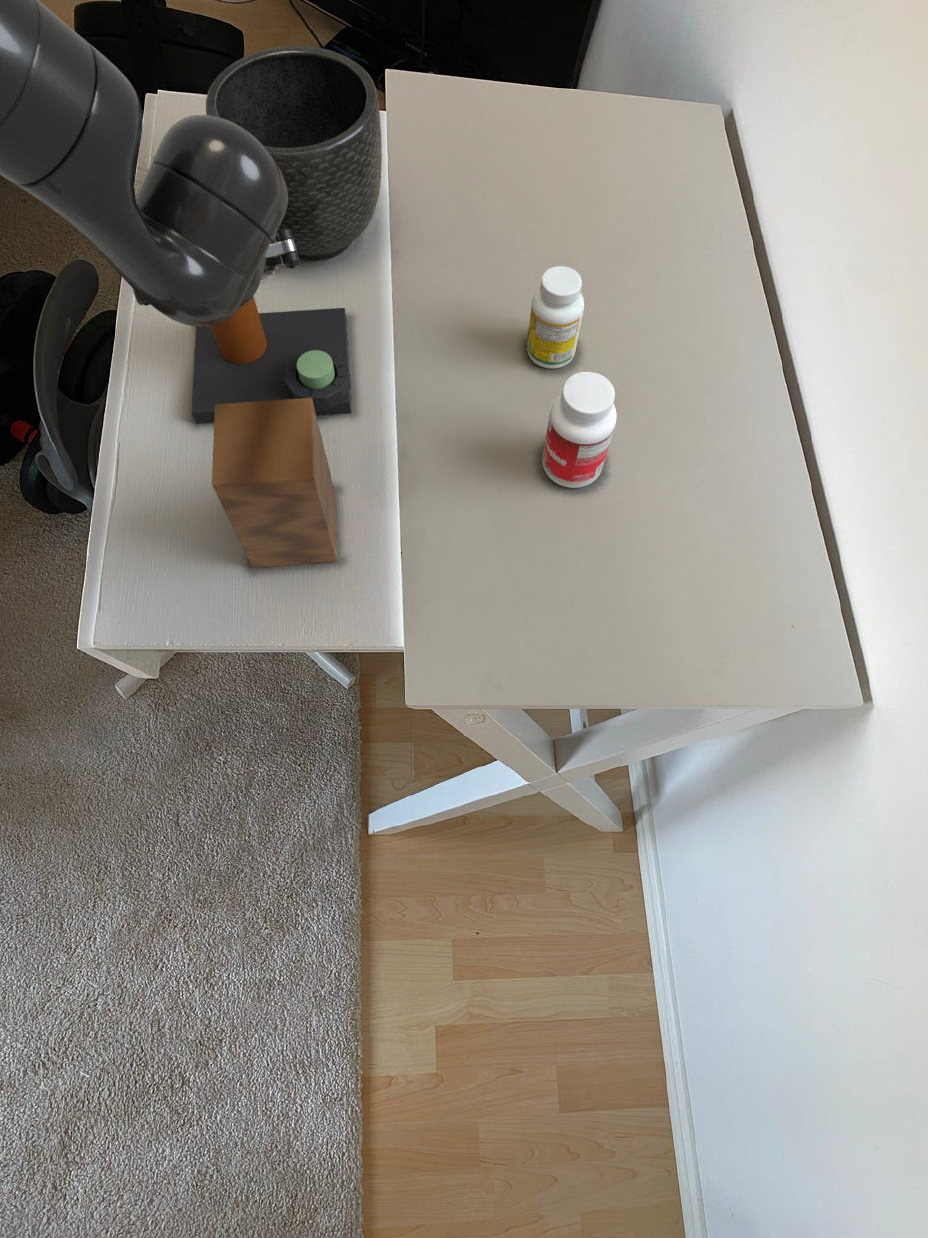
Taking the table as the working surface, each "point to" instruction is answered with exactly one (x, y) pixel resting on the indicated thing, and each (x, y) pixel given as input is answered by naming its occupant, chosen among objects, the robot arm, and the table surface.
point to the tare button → (315, 369)
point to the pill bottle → (579, 430)
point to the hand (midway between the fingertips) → (217, 274)
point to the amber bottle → (241, 335)
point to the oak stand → (275, 481)
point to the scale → (274, 364)
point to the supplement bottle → (555, 318)
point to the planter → (311, 138)
